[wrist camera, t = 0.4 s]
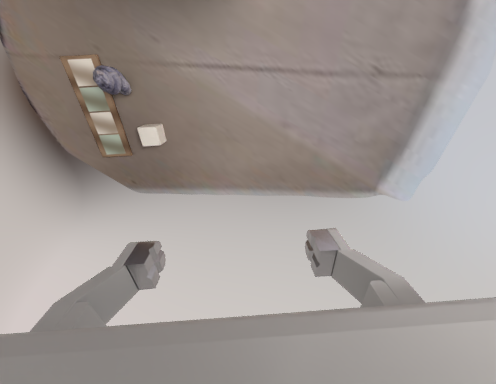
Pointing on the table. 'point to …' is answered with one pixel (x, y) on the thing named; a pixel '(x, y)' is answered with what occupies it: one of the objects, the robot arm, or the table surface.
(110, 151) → the brown rectangular frame
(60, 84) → the table surface
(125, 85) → the seashell
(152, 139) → the cream white cube
